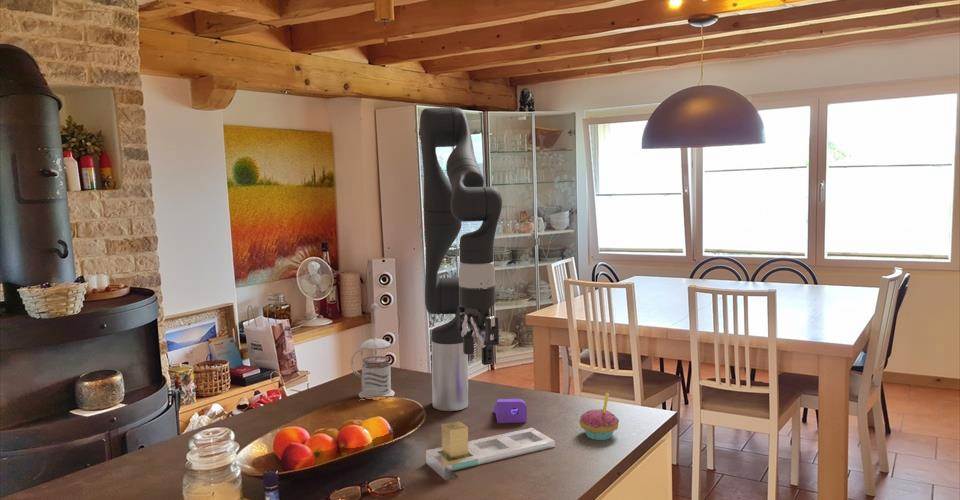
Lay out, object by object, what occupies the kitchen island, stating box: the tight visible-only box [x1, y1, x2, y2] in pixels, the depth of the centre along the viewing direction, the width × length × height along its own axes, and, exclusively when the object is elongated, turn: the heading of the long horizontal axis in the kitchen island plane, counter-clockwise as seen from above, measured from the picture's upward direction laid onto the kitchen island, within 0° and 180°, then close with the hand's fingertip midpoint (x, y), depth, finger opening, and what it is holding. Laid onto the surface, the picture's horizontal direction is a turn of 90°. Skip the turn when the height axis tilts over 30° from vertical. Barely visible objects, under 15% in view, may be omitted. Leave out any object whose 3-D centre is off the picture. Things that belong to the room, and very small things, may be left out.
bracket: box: [493, 398, 528, 424], centre depth 168 cm, size 12×7×7 cm, turn 3°
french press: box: [350, 303, 396, 399], centre depth 187 cm, size 10×12×25 cm
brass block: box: [440, 420, 469, 461], centre depth 141 cm, size 4×4×7 cm
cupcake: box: [578, 390, 620, 441], centre depth 153 cm, size 9×8×12 cm
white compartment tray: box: [425, 427, 556, 480], centre depth 145 cm, size 9×26×3 cm, turn 118°
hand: (477, 358), depth 146 cm, fingers open, 8 cm apart
